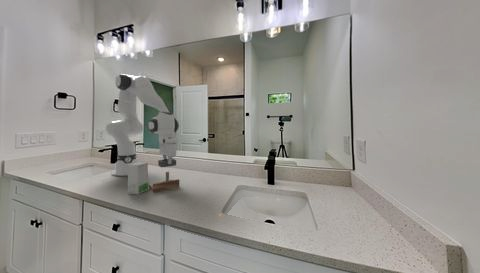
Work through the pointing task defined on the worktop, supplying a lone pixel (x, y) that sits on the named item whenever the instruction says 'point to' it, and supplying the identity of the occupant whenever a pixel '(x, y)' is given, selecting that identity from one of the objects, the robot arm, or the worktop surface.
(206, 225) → the worktop surface
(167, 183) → the hook shelf
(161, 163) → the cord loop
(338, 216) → the worktop surface
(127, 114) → the robot arm
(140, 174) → the skincare box
